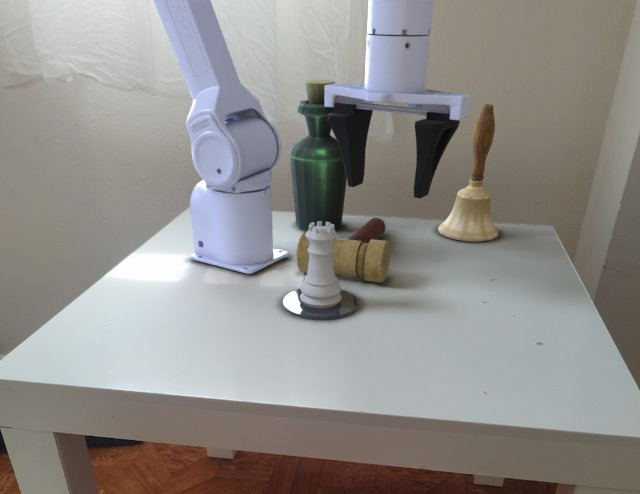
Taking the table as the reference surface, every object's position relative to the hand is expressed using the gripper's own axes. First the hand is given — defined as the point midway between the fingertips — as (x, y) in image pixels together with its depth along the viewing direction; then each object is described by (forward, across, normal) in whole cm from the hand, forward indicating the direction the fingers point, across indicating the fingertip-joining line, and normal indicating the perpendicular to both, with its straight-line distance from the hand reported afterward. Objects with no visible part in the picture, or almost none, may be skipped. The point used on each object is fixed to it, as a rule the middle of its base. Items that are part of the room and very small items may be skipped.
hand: (387, 190), depth 63 cm
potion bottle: (+11, -18, +15) cm, 26 cm away
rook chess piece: (+10, -3, -8) cm, 13 cm away
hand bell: (+11, +1, +24) cm, 26 cm away
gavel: (+11, -7, +8) cm, 15 cm away
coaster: (+10, -3, -8) cm, 13 cm away
